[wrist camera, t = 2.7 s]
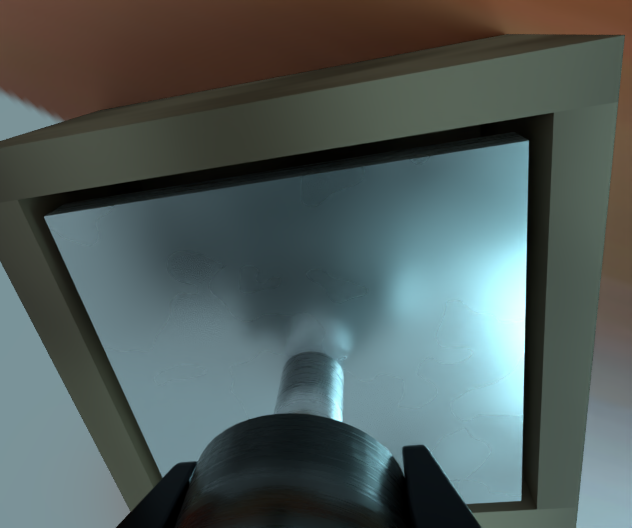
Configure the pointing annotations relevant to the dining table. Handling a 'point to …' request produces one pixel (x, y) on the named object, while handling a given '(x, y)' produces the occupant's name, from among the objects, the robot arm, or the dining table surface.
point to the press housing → (341, 143)
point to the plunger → (318, 329)
